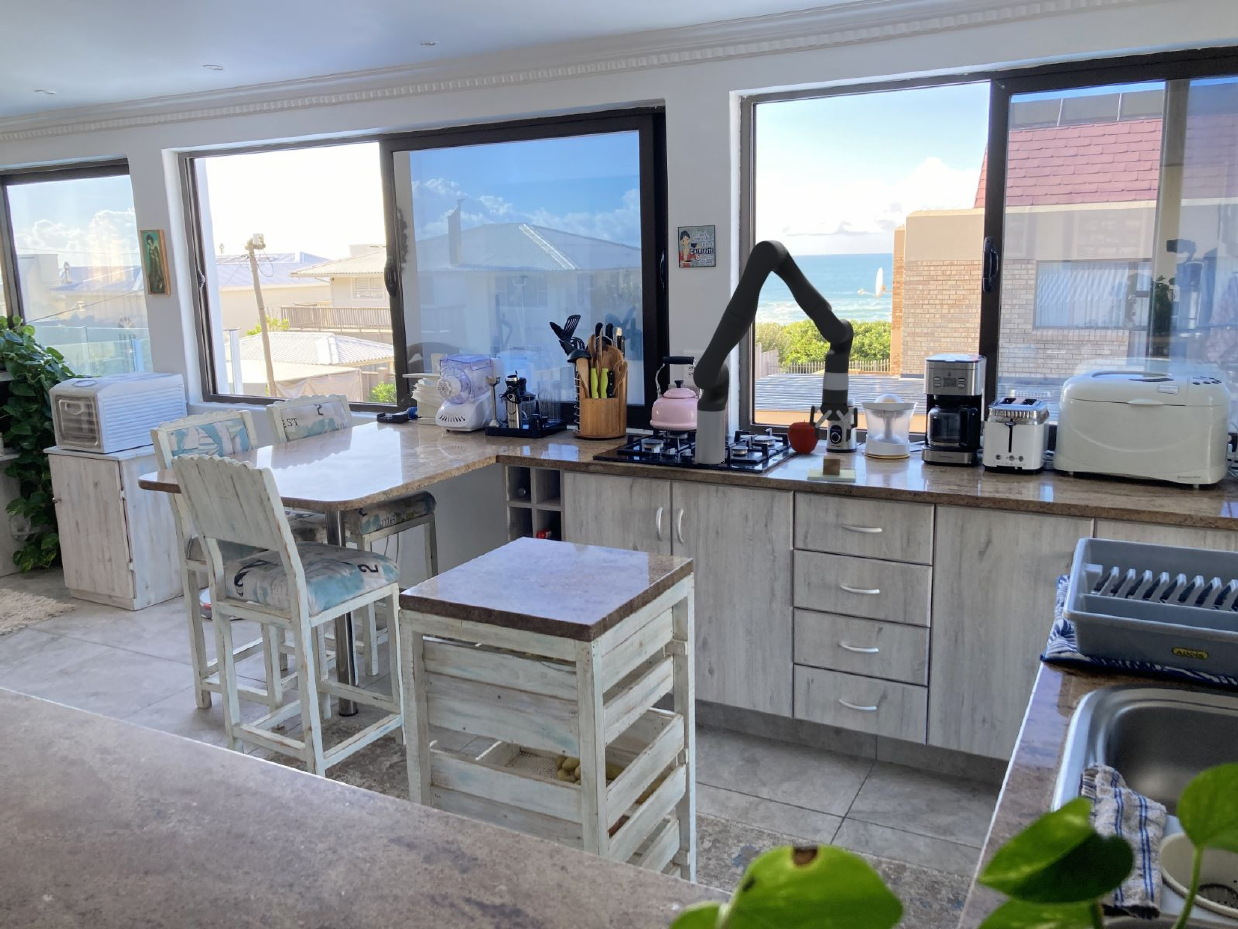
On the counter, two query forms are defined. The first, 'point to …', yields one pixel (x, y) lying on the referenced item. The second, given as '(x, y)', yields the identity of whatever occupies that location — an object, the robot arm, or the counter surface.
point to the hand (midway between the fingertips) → (832, 440)
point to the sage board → (818, 475)
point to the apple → (802, 437)
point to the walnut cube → (831, 465)
